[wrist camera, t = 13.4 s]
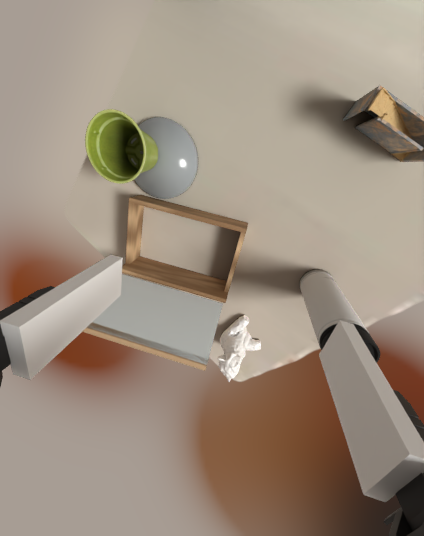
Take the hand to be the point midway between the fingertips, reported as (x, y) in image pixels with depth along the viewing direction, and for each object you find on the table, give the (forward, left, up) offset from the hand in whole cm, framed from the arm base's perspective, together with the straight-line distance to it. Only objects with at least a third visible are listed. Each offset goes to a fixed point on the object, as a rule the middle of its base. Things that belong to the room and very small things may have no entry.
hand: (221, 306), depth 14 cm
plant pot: (-6, -21, -31) cm, 38 cm away
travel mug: (+10, +17, -32) cm, 38 cm away
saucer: (-5, -17, -32) cm, 36 cm away
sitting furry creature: (+28, +6, -32) cm, 43 cm away
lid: (+17, -10, -17) cm, 26 cm away
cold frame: (+9, -10, -32) cm, 34 cm away
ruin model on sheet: (-16, +16, -32) cm, 39 cm away
